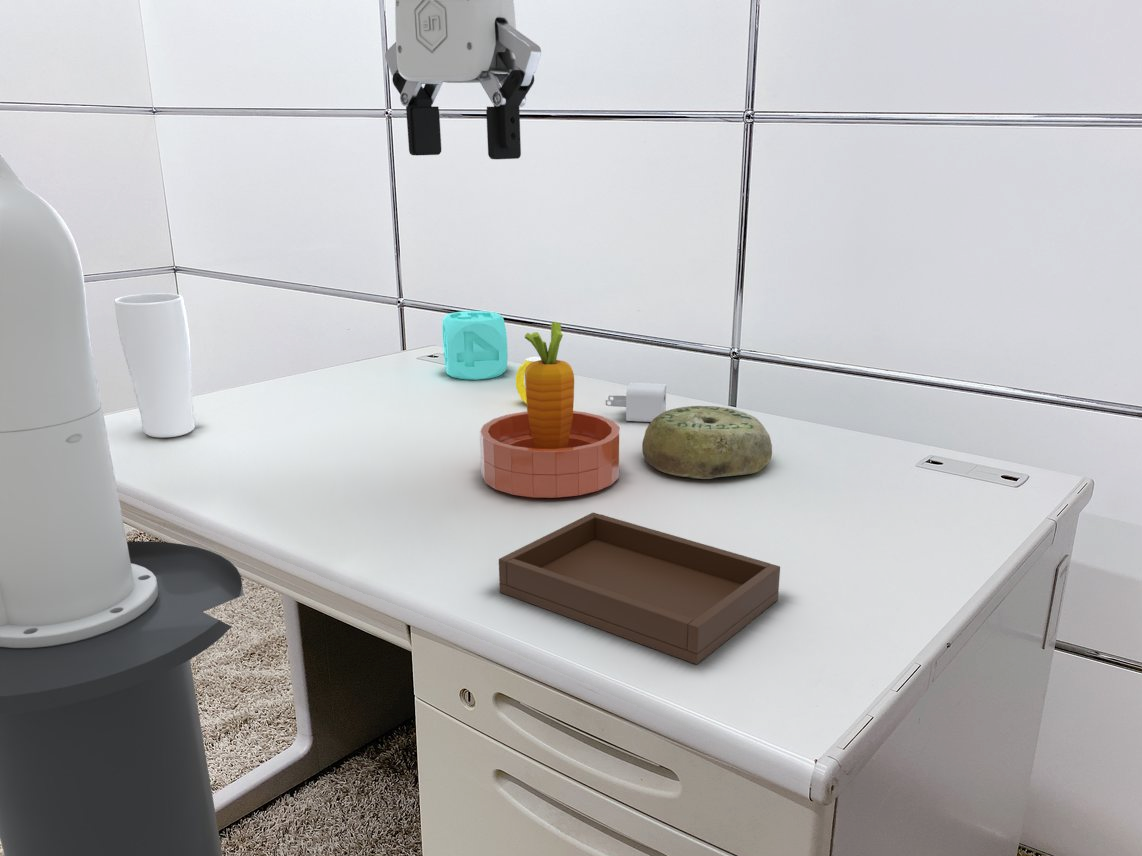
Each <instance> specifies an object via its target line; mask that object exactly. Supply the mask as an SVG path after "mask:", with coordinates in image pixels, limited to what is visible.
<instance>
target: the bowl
mask: <svg viewBox="0 0 1142 856" xmlns="http://www.w3.org/2000/svg"><path fill="white" fill-rule="evenodd" d="M620 433H621V429H620V426H619V424H617V423H616V422H615V421H614V420H612V419H610V418H608V417H605V416H602V415H598V414H595V413H591V412H586V411H577V410H573V419H572V425H571V431H570V436H569V441H568V445H567V448H559V449H536V448H535V446H534V442H533V437H532V433H531V428H530V423H529V418H528V412H527V410H526V411H521V412H514V413H509V414H505V415H502V416H499V417H495V418H493V419H491V420H489V421H488V422H486V423H484V424H483V425H481V428H480V430H479V449H480V451H479V452H480V470H481V477H482V479H483V482H484V483H485V484H486V485H488V486H489V487H491V488H493V489H494V490H496V491H499V492H503V493H506V494H510V495H513V496H520V497H526V498H542V499H543V498H549V499H551V498H552V499H553V498H556V499H558V498H566V497H575V496H577V497H578V496H583V495H586V494H590V493H594V492H598V491H601V490H603V489H606V488H608V487H610V486H612V485H613V484H614V483H615V482H616V481H617V480H618V479H619V477H620V446H621V445H620V443H621V442H620V441H621V439H620V435H621V434H620Z"/></svg>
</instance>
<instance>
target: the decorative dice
mask: <svg viewBox="0 0 1142 856" xmlns="http://www.w3.org/2000/svg"><path fill="white" fill-rule="evenodd" d="M441 324H442V325H441V334H442V352H443V359H444V360H443V361H444V366H445V371H446V374H447V375H448V376H449V377H451V378H455V379H459V380H468V381H469V380H470V381H473V380H474V381H476V380H489V379H495V378H497V377H500V376H502V375H504V373H505V372H506V370H507V369H508V357H509V356H508V337H507V328H506V323H505V319H504V317H503V315H502V314H500V313H498V312H494V311H488V310H462V311H455V312H450V313H448V314H446V315H445V316H444V317H443V318H442V323H441Z"/></svg>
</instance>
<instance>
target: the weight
mask: <svg viewBox="0 0 1142 856" xmlns="http://www.w3.org/2000/svg"><path fill="white" fill-rule="evenodd" d="M641 443H642V444H641V445H642V449H641V450H642V455H643V457H644V459H645V461H646V463H648V464H649V465H650V466H652V467H653V468H654V469H656V470H657V471H659V472H661V473H664V474H668V475H672V476H676V477H685V478H691V479H699V480H700V479H701V480H711V479H715V478H721V477H723V478H724V477H732V476H733V477H734V476H742V475H743V476H744V475H751V474H755V473H759V472H760V471H762V470H763V468H765V467H766V466H767V465H768V464H769V463H770V461H771V459H772V456H773V445H772V439H771V437H770V434H769V432H768V431H767V429H766V428H765V425H763V423H762V422H761V421H760V420H758V418H756V417H755V416H753V415H752V414H749V413H747V412H744V411H741V410H737V409H734V408H730V407H724V406H717V405H716V406H715V405H690V406H689V405H688V406H682V407H677V408H672V409H668V410H666V411H665V412H663V413H661V414H660V415H658V416H657V417H656V418H654V419H653V420H652V422H649V424H648V425H647V427H646V429H645V433H644V435H643V439H642V442H641Z"/></svg>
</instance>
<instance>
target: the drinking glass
mask: <svg viewBox="0 0 1142 856" xmlns="http://www.w3.org/2000/svg"><path fill="white" fill-rule="evenodd" d="M113 302H114V309H115V319H116V325H117V330H118V335H119V339H120V344H121V348H122V352H123V355H124V359H125V363H126V366H127V370H128V374H129V378H130V381H131V385H132V388H133V392H134V396H135V399H136V400H135V401H136V403H137V407H138V411H139V415H140V419H141V420H140V421H141V427H142V430H143V432H144V434H145V435H147V436H149V437H152V438H161V439H164V438H166V439H167V438H175V437H179V436H180V437H181V436H184V435H187V434H189V433H191V432H193V431H194V429H195V427H196V418H195V412H194V399H193V383H192V381H193V380H192V364H191V363H192V362H191V346H190V334H189V333H190V332H189V325H188V318H187V311H186V307H185V303H184V297H183V296H182V295H180V294H177V293H170V292H169V293H168V292H151V293H150V292H149V293H138V294H129V295H124V296H120V297H117V298H115V300H114V301H113Z"/></svg>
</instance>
